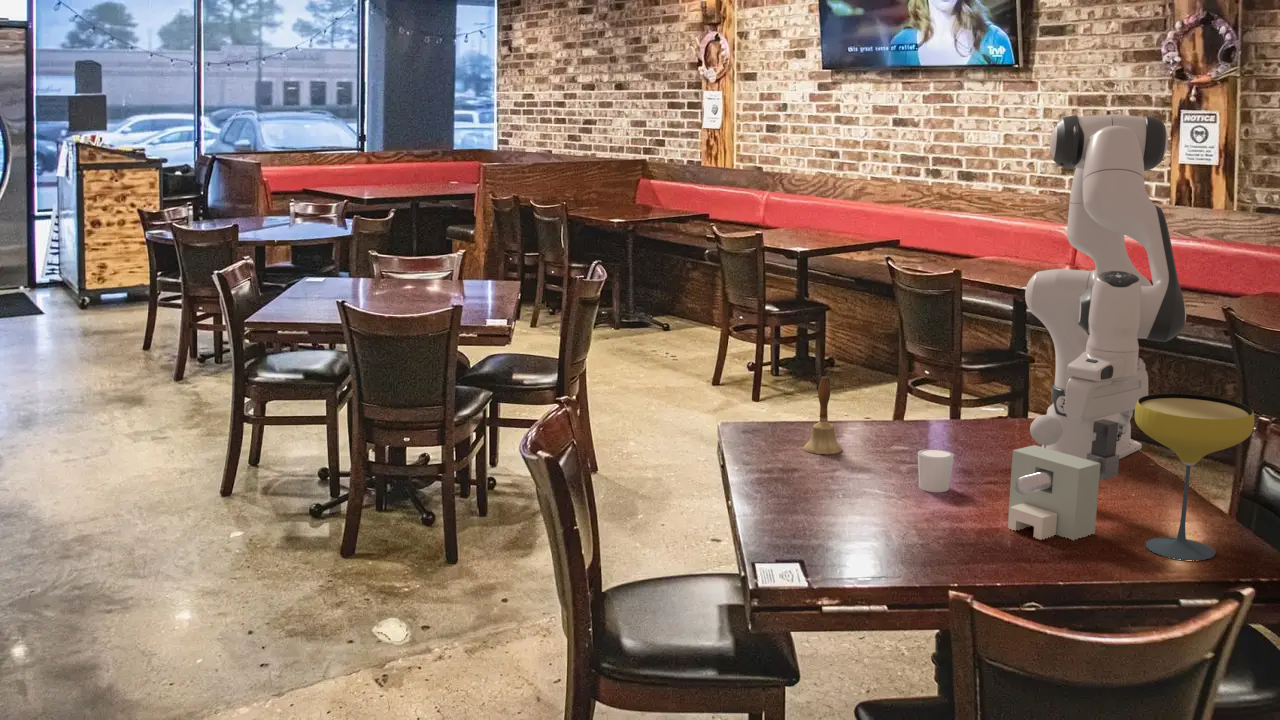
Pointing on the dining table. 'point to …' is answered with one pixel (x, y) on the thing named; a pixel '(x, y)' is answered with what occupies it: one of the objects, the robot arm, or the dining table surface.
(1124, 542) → the dining table surface
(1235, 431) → the cocktail glass
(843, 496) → the dining table surface
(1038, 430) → the lollipop
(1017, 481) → the hammer
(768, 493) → the dining table surface
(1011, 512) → the block
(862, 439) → the dining table surface
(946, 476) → the white cup
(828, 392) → the hand bell
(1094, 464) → the grey slotted block
